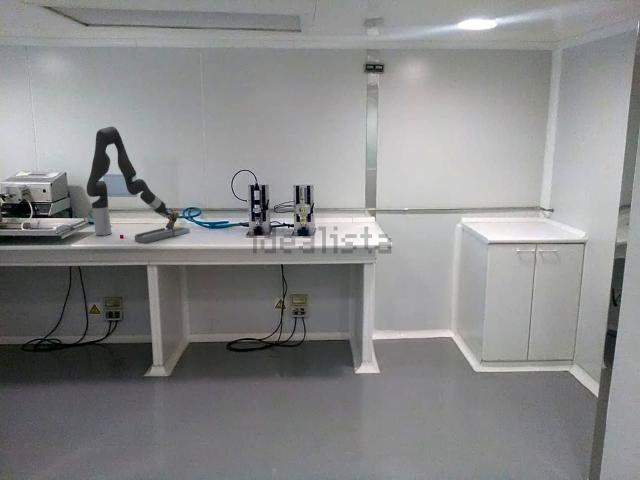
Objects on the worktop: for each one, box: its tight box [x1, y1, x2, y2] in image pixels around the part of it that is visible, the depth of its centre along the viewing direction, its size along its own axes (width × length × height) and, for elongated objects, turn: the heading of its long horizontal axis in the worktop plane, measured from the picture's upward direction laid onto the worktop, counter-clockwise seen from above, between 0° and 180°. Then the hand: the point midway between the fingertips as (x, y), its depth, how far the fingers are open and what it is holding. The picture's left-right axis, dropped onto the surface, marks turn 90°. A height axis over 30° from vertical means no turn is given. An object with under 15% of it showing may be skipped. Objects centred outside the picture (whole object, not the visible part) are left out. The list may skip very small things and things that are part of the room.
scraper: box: [165, 211, 180, 229], centre depth 304 cm, size 2×4×11 cm
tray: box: [165, 226, 190, 237], centre depth 308 cm, size 12×11×2 cm
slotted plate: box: [134, 227, 174, 244], centre depth 295 cm, size 20×10×4 cm, turn 146°
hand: (174, 220), depth 305 cm, fingers closed on scraper, 2 cm apart
